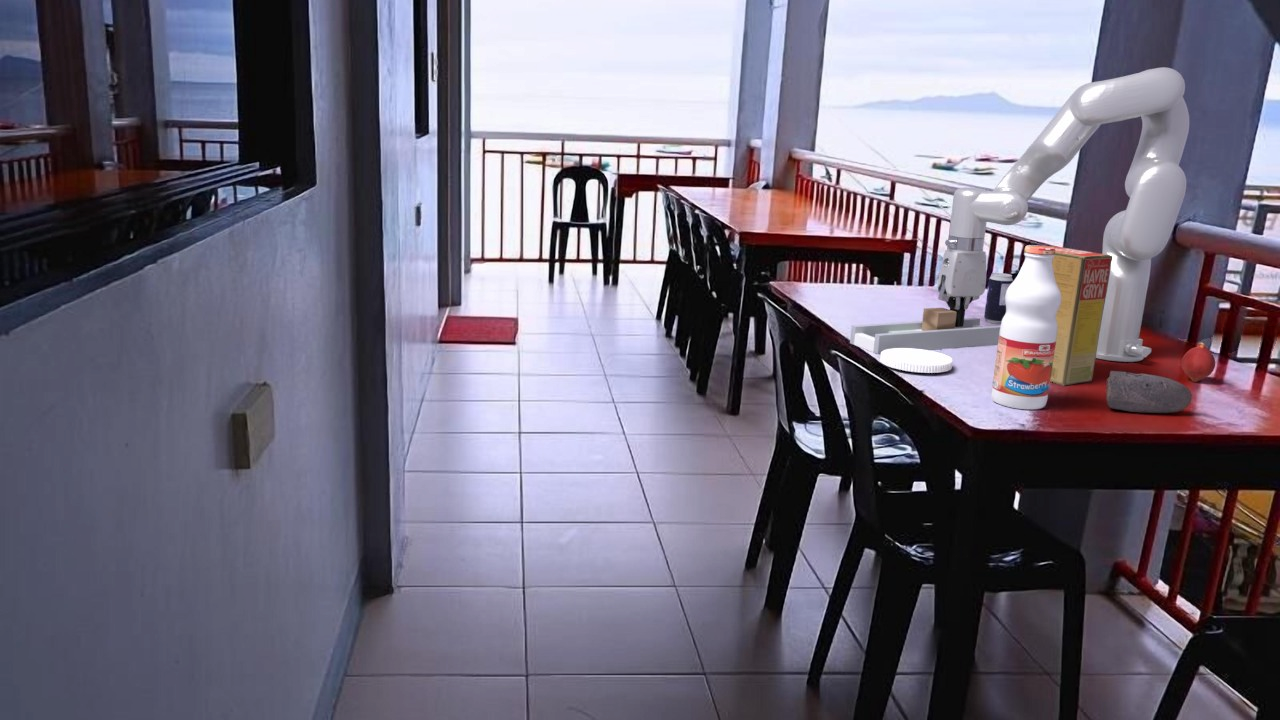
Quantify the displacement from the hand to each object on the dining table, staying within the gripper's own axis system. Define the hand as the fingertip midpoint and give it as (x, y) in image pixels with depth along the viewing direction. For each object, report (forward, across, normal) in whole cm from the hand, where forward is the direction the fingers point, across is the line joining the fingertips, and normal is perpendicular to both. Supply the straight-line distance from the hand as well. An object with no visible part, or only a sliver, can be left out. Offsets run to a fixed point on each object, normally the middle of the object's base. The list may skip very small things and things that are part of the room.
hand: (955, 325), depth 216 cm
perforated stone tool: (+4, -3, -53) cm, 53 cm away
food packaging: (+4, 0, -29) cm, 29 cm away
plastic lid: (+4, -24, -16) cm, 29 cm away
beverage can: (+4, +26, +15) cm, 30 cm away
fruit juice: (+4, -21, -42) cm, 48 cm away
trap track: (+4, -7, 0) cm, 8 cm away
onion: (+4, +26, -41) cm, 48 cm away
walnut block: (+1, -5, 0) cm, 5 cm away
